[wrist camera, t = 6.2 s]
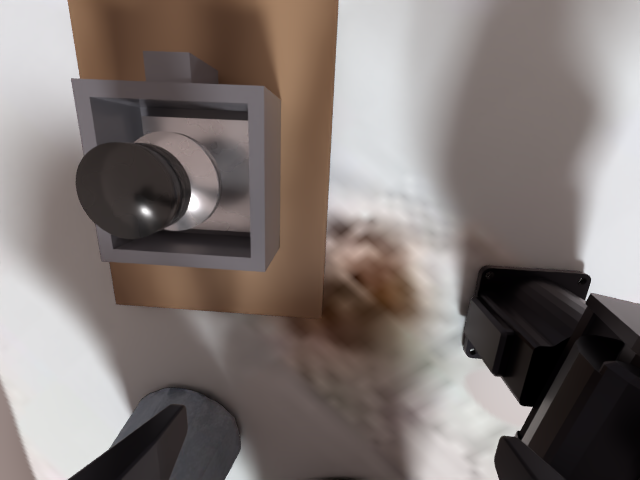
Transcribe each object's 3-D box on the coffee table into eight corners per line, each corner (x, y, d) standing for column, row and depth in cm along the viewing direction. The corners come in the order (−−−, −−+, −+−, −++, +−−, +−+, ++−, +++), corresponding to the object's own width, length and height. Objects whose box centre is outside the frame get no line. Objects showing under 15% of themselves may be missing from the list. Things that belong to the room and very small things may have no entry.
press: (281, 75, 16) (263, 53, 13) (279, 247, 19) (265, 272, 15) (128, 69, 17) (65, 46, 13) (148, 239, 20) (101, 261, 16)
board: (338, 3, 16) (338, -4, 15) (322, 312, 21) (321, 319, 20) (78, -3, 17) (65, -11, 16) (123, 298, 22) (116, 304, 21)
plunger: (256, 121, 17) (200, 104, 10) (258, 230, 18) (211, 276, 12) (148, 117, 17) (21, 96, 10) (159, 224, 19) (58, 266, 12)
